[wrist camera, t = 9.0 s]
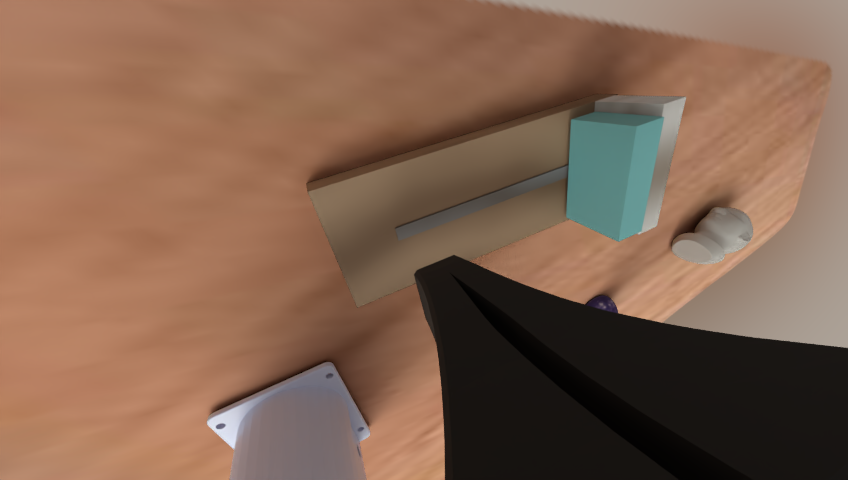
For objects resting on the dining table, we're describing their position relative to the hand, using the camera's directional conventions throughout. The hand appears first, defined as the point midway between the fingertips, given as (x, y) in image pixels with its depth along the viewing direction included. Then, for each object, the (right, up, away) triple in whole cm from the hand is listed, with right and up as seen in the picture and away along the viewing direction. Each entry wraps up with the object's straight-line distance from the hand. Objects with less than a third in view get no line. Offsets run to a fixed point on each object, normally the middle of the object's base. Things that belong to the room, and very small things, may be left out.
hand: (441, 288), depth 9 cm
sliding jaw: (+10, +6, +10) cm, 15 cm away
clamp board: (+3, +5, +10) cm, 12 cm away
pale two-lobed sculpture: (+28, +3, +22) cm, 36 cm away
